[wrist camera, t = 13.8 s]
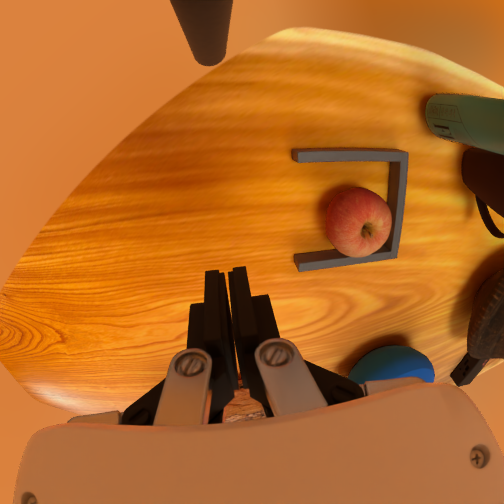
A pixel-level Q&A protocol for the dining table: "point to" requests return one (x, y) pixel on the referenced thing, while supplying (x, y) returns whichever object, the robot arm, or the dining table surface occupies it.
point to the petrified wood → (243, 407)
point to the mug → (485, 183)
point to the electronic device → (468, 370)
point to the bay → (394, 203)
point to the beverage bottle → (467, 120)
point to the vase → (392, 365)
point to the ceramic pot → (488, 320)
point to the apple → (358, 222)
